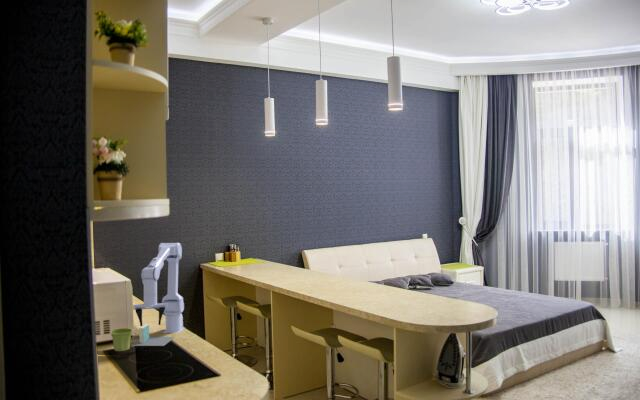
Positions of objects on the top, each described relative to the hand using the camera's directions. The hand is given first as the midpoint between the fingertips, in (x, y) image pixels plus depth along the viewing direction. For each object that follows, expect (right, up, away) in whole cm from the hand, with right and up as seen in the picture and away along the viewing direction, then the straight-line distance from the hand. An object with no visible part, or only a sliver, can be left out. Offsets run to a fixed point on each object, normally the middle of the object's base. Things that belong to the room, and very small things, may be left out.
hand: (150, 325), depth 241 cm
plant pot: (-12, -11, -2) cm, 16 cm away
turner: (-9, -10, +18) cm, 22 cm away
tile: (-6, -10, +9) cm, 14 cm away
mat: (-2, -10, +9) cm, 14 cm away
